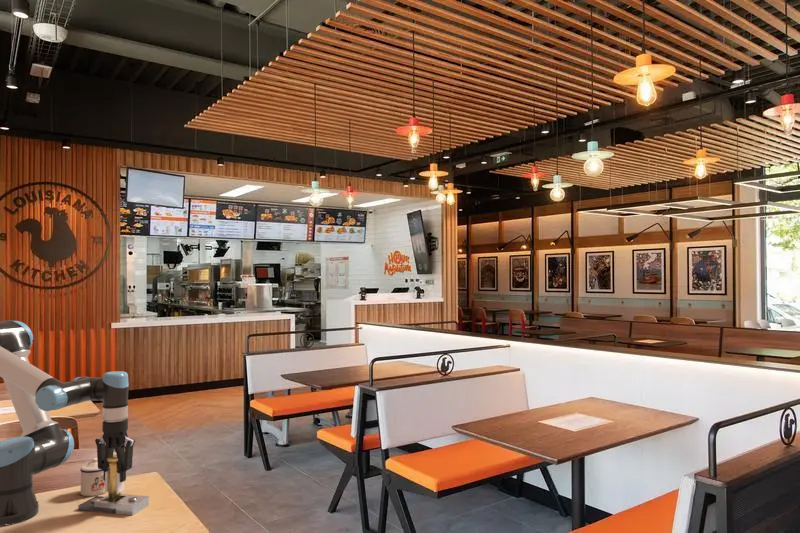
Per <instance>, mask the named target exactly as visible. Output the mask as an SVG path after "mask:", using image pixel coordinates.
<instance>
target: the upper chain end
mask: <svg viewBox="0 0 800 533" xmlns="http://www.w3.org/2000/svg"><path fill="white" fill-rule="evenodd" d="M102 497H103V498H101V499H99V500H97V501H96V502H94V507H102V508H112V509H114V510H115V509H116V510H115V512H116V514H118V515H128V516H134V515H136V514H137V513H139V512H141V511H142V510H144V509H145V508H147V507H149V506H148V505H149V504H150V496H148V495H138V494H128V493H121V499H120V500H118V501H116V502H109V501H108V494H107V495H105V496H102ZM146 506H147V507H146Z"/></svg>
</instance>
